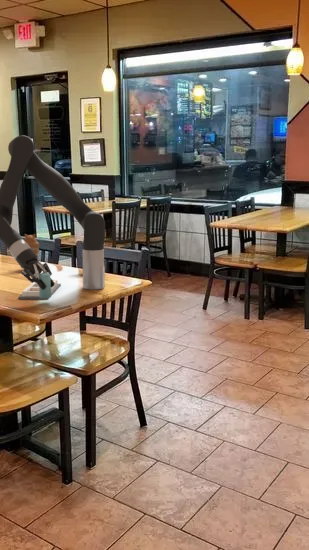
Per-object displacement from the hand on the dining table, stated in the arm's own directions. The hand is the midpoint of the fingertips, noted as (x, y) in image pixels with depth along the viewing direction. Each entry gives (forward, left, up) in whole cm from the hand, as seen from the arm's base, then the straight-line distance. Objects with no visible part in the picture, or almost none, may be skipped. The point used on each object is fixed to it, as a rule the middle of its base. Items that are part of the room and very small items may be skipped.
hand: (48, 287), depth 207 cm
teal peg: (+2, -1, -4) cm, 5 cm away
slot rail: (+8, -19, -7) cm, 21 cm away
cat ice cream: (+25, -69, -7) cm, 73 cm away
